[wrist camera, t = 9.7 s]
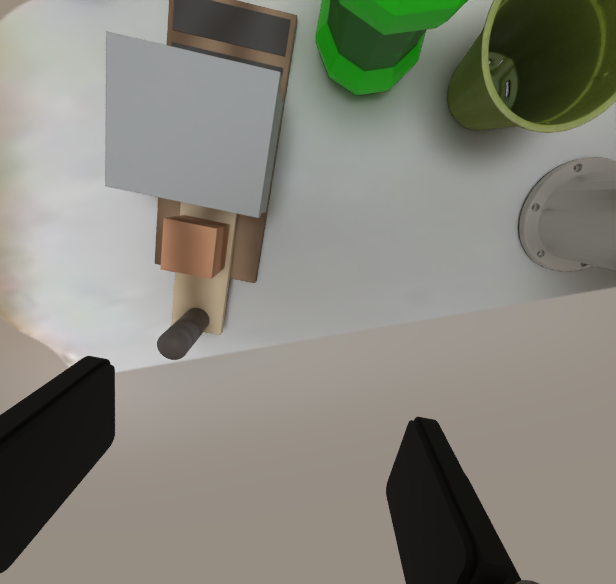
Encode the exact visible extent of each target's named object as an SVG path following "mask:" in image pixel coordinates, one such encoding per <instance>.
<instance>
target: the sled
mask: <svg viewBox="0 0 616 584" xmlns="http://www.w3.org/2000/svg"><path fill="white" fill-rule="evenodd" d="M237 218H238V214H237V213H232V212H228V211H223V210H218V209H213V208H208V207H203V206H199V205H194V204H189V203H184V202H181V206H180V216H174V217H167V218H164V220H163V237H162V253H161V269H162V270H167V271H172V272H175V284H174V298H173V311H172V324H171V327H170V328H169V329H168V330H167V331H166V332H164V333H163V334H162V335H161V336H160V337H159V339H158V341H157V347H158V350H159V352H160V353H161V354H162V355H163V356H164V357H166V358H168V359H171V360H177V359H181V358H182V357H184V356H185V355H186V353H187V352H188V351H189V349H190V348H191V347H192V346H193V344H194V343H195V342H196V341H197V339H198V338H199V337H200V335H201V334H202V333H203V332H207V333H212V334H218V335H221V333H222V332H223V324H224V317H225V309H226V302H227V294H228V286H229V279H230V271H231V263H232V256H233V248H234V241H235V233H236V225H237Z"/></svg>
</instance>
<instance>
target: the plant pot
mask: <svg viewBox="0 0 616 584" xmlns="http://www.w3.org/2000/svg"><path fill="white" fill-rule="evenodd" d="M503 58H505V60H504V61H503V62H502V63H501V64H500V65H499V66H498V64H499V63H500V62H501V60H502V59H503ZM489 59H490V60H491V61H492V62H491V64H490V65H489ZM497 66H498V67H497ZM509 79H510V95H509V96H508V97H506V82H507V81H509ZM614 102H616V0H494V1H493V3H492V5H491V8H490V10H489V13H488V16H487V19H486V22H485V26H484V28H483V30H482V32H481V34H480V35H479V37H478V38H477V40H476V41H475V43H474V44H473V46H472V47H471V49H470V50H469V52H468V53H467V55H466V56H465V57H464V59H463V60H462V62H461V63H460V65H459V66H458V68H457V69H456V71H455V73H454V74H453V76H452V79H451V81H450V85H449V89H448V105H449V109H450V112H451V114H452V116H453V117H454V118H455V119H456V120H457V121H458V122H459V123H460V124H461V125H462V126H463V127H465V128H468V129H472V130H486V129H495V128H505V127H516V126H518V127H522V128H525V129H528V130H531V131H536V132H544V133H552V132H561V131H566V130H569V129H572V128H575V127H578V126H580V125H583V124H585V123H587V122H589V121H591V120H592V119H594V118H596V117H597V116H599V115H600V114H602V113H603V112H604V111H605V110H607V109H608V108H609V107H610V106H611V105H612V104H613V103H614Z"/></svg>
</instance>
